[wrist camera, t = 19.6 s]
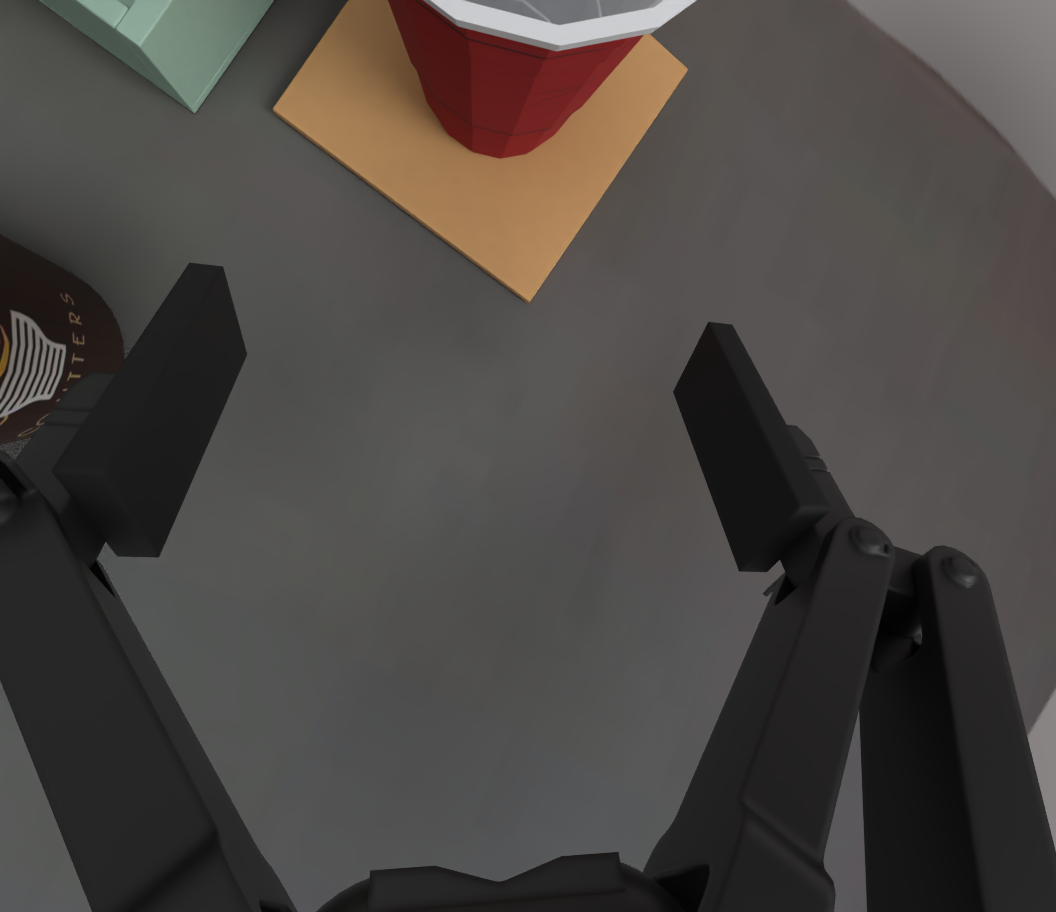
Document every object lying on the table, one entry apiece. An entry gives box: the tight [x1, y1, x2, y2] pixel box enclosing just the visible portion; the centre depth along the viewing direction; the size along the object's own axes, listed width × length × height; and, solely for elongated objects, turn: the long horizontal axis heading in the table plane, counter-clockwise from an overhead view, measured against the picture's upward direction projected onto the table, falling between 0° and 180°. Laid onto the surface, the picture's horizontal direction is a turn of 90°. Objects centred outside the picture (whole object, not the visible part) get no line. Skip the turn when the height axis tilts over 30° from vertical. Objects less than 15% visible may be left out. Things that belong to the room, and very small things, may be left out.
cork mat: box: [273, 0, 688, 303], centre depth 21 cm, size 12×12×1 cm
